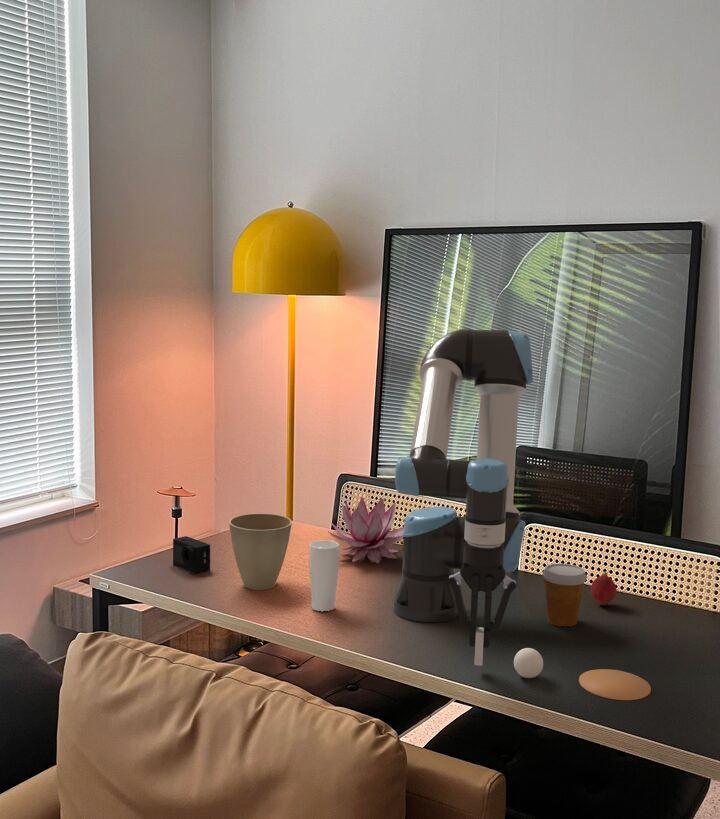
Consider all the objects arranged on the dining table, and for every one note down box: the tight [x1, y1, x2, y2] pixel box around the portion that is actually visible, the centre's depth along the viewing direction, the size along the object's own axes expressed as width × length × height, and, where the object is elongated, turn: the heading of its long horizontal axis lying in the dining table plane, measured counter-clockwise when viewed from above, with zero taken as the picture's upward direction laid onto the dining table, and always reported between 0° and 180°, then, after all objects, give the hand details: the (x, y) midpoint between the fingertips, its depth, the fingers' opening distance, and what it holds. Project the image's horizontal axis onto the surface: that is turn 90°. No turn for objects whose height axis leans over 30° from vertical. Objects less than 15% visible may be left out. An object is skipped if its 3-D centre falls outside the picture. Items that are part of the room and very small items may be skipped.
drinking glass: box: [308, 539, 340, 613], centre depth 208 cm, size 7×7×15 cm
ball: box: [513, 647, 544, 679], centre depth 175 cm, size 6×6×6 cm
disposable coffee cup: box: [542, 563, 588, 628], centre depth 204 cm, size 10×10×12 cm
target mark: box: [578, 668, 652, 701], centre depth 173 cm, size 13×13×1 cm
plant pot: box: [228, 512, 293, 591], centre depth 223 cm, size 15×15×16 cm
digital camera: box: [172, 535, 211, 575], centre depth 235 cm, size 10×5×7 cm, turn 45°
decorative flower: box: [327, 496, 404, 564], centre depth 247 cm, size 21×21×15 cm
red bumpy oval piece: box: [590, 571, 618, 606], centre depth 216 cm, size 6×6×8 cm
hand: (478, 662), depth 177 cm, fingers closed
